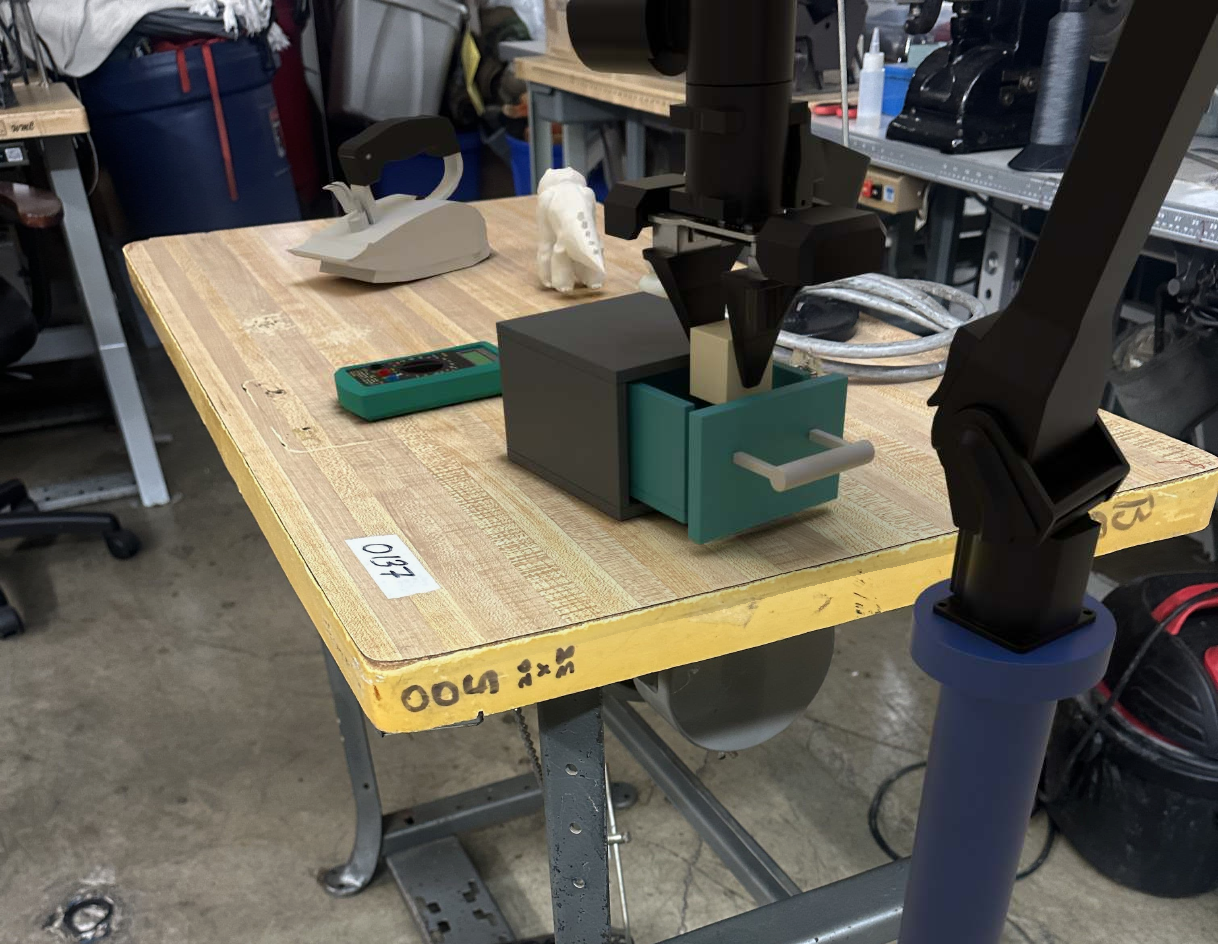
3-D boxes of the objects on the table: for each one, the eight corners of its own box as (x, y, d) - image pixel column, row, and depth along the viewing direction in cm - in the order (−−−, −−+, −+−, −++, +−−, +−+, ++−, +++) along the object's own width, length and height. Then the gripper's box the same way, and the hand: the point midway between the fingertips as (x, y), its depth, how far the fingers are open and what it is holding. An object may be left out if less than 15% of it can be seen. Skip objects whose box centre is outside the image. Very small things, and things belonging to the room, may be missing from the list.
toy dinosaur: (581, 266, 133) (576, 156, 126) (640, 319, 115) (638, 193, 108) (523, 271, 132) (515, 161, 125) (573, 326, 113) (567, 200, 107)
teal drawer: (892, 522, 72) (908, 396, 68) (751, 573, 67) (757, 440, 63) (708, 441, 85) (711, 330, 80) (578, 479, 80) (572, 362, 75)
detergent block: (771, 396, 72) (774, 328, 69) (726, 409, 70) (727, 340, 68) (734, 382, 74) (736, 316, 72) (689, 394, 72) (690, 327, 70)
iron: (291, 285, 130) (262, 132, 121) (449, 244, 145) (434, 104, 136) (353, 298, 125) (328, 139, 116) (511, 254, 139) (499, 109, 130)
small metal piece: (767, 378, 99) (769, 341, 97) (791, 374, 99) (794, 338, 97) (803, 398, 94) (805, 361, 92) (828, 394, 95) (831, 356, 93)
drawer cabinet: (767, 475, 81) (774, 332, 76) (620, 521, 76) (615, 371, 70) (645, 420, 91) (643, 290, 85) (507, 458, 86) (495, 321, 80)
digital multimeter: (330, 401, 98) (324, 365, 96) (491, 369, 103) (488, 335, 101) (359, 426, 92) (353, 389, 91) (527, 392, 98) (524, 356, 96)
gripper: (978, 77, 59) (937, 388, 69) (743, 58, 72) (735, 324, 81) (815, 99, 54) (795, 430, 64) (593, 75, 67) (604, 355, 76)
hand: (730, 379), depth 71 cm, fingers closed on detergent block, 3 cm apart
